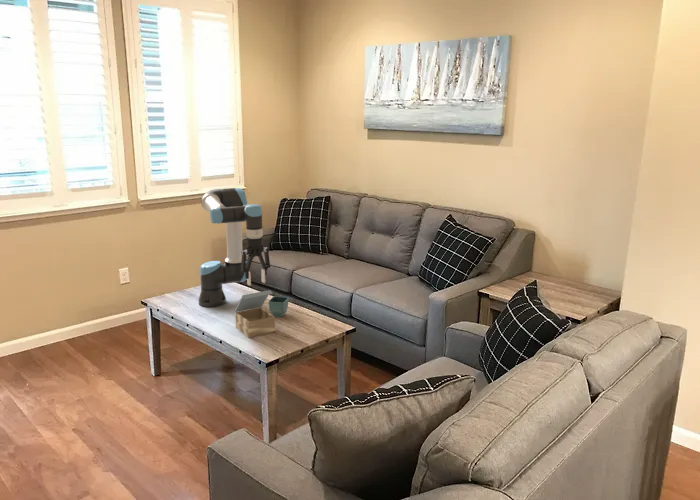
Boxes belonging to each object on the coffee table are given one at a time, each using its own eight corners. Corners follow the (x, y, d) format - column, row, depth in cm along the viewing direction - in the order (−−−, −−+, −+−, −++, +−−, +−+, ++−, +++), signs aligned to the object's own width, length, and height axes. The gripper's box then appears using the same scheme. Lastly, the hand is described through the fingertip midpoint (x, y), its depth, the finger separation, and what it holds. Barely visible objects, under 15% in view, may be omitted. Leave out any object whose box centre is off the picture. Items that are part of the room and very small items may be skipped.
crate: (236, 327, 283) (235, 312, 281) (261, 321, 291) (261, 307, 289) (248, 338, 270) (248, 322, 268) (275, 332, 278) (274, 316, 276)
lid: (235, 315, 280) (234, 310, 281) (262, 309, 288) (260, 305, 289) (244, 298, 268) (243, 294, 269) (272, 293, 275) (270, 289, 276)
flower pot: (284, 318, 295) (284, 302, 293) (268, 317, 297) (267, 301, 295) (289, 313, 304) (289, 297, 301) (273, 311, 305) (273, 296, 303)
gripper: (238, 241, 258) (240, 289, 264) (277, 236, 268) (278, 282, 274) (231, 238, 264) (234, 284, 270) (270, 233, 275) (271, 278, 280)
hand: (256, 283), depth 272 cm, fingers open, 7 cm apart
